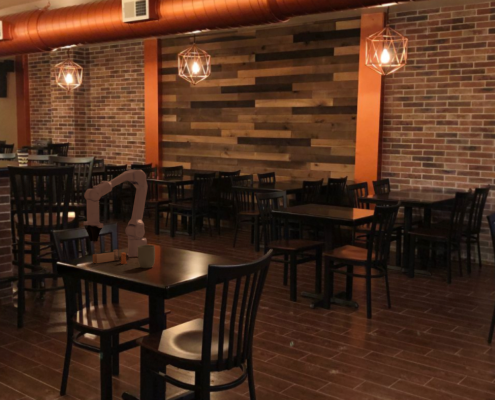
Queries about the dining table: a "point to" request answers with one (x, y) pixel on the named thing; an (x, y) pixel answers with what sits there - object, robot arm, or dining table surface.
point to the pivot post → (116, 254)
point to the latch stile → (123, 258)
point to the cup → (146, 256)
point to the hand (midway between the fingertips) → (93, 241)
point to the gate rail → (103, 257)
